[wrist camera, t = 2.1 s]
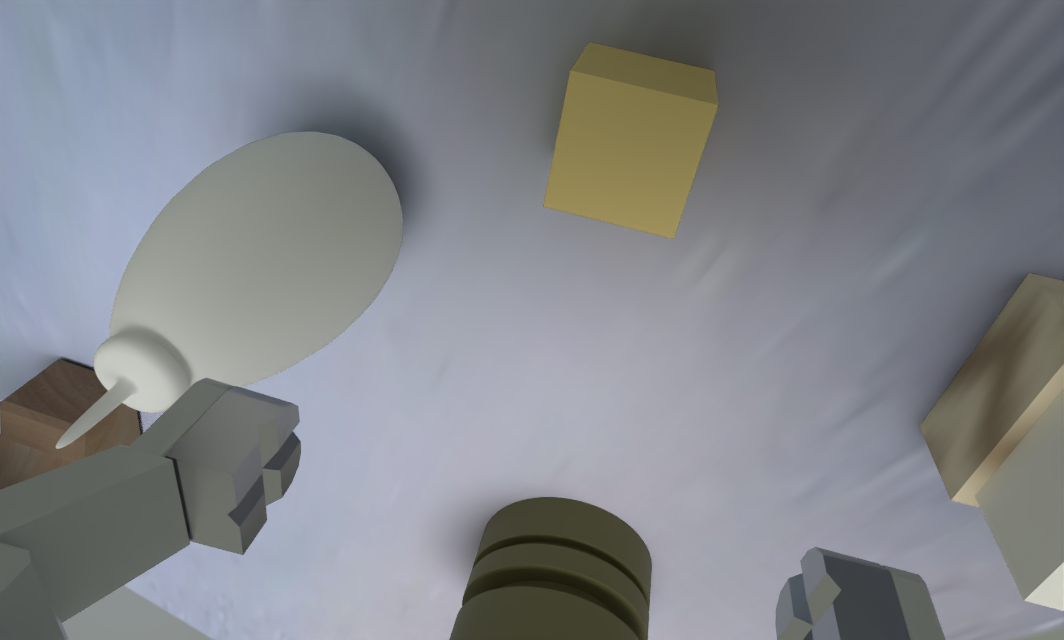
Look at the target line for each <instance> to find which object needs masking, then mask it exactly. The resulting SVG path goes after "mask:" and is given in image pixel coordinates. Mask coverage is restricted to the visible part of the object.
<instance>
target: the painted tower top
mask: <svg viewBox="0 0 1064 640" xmlns="http://www.w3.org/2000/svg"><path fill="white" fill-rule="evenodd" d="M975 498H976V500H977V502H978V504H979V506H980V508H981V511H982V513H983V515H984V517H985V519H986V521H987V523H988V525H989V528H990V530H991V532H992V534H993V536H994V538H995V540H996V542H997V544H998V547H999V549H1000V551H1001V553H1002V555H1003V557H1004V559H1005V561H1006V564H1007V566H1008V568H1009V570H1010V572H1011V574H1012V576H1013V578H1014V580H1015V583H1016V585H1017V587H1018V589H1019V591H1020V593H1021V595H1022V597H1023V600H1024V601H1028V602H1032V603H1035V604H1039V605H1043V606H1047V607H1051V608H1054V609H1058V610H1062V611H1064V389H1063V390H1062V392H1061V393H1060V394H1059V395H1058V396H1057V398H1056V399H1055V400H1054V401H1053V402H1052V404H1051V405H1050V406H1049V407H1048V408H1047V410H1046V411H1045V412H1044V413H1043V415H1042V416H1041V417H1040V418H1039V419H1038V421H1037V422H1036V423H1035V424H1034V425H1033V427H1032V428H1031V429H1030V430H1029V431H1028V433H1027V434H1026V435H1025V436H1024V437H1023V439H1022V440H1021V441H1020V442H1019V444H1018V445H1017V446H1016V447H1015V448H1014V450H1013V451H1012V452H1011V453H1010V454H1009V456H1008V457H1007V458H1006V459H1005V460H1004V462H1003V463H1002V464H1001V465H1000V466H999V468H998V469H997V470H996V471H995V473H994V474H993V475H992V476H991V477H990V479H989V480H988V481H987V482H986V483H985V485H984V486H983V487H982V488H981V489H980V491H979V492H978V493H977V494H976V496H975Z"/></svg>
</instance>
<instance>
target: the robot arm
mask: <svg viewBox="0 0 1064 640" xmlns="http://www.w3.org/2000/svg"><path fill="white" fill-rule="evenodd" d="M299 422H300V420H299V409H298V406H297V405H295V404H293V403H290V402H287V401H284V400H280V399H277V398H274V397H270V396H267V395H264V394H261V393H257V392H254V391H251V390H247V389H244V388H241V387H238V386H233V385H230V384H226V383H223V382H219V381H216V380H213V379H209V378H204V379H201V380H199V381H197V382H195V383H194V384H193V385H192V386H191V387H190V388H189V389H188V390H187V391H186V392H185V393H184V394H183V395H182V396H181V397H180V398H179V399H178V400H177V401H175V402H174V403H173V404H172V405H171V406H170V407H169V408H168V409H167V410H166V411H165V412H164V413H163V414H162V415H161V416H160V417H159V418H158V419H157V420H156V421H155V422H154V423H153V424H152V425H151V426H150V427H149V428H148V429H147V430H146V431H145V432H144V433H143V434H142V435H141V436H140V437H139V438H138V439H137V440H136V441H135V442H134V443H133V444H132V445H131V446H130V447H127V446H123V445H118V446H115V447H112V448H110V449H107V450H104V451H102V452H99V453H96V454H94V455H91V456H88V457H86V458H83V459H80V460H78V461H75V462H73V463H70V464H67V465H65V466H62V467H59V468H57V469H54V470H51V471H49V472H46V473H43V474H41V475H38V476H35V477H33V478H30V479H28V480H25V481H22V482H20V483H17V484H14V485H12V486H9V487H6V488H4V489H1V490H0V640H69V638H68V636H67V634H66V632H65V629H64V627H63V625H62V622H64V621H66V620H67V619H69V618H71V617H72V616H74V615H76V614H77V613H78V612H81V611H82V610H84V609H85V608H87V607H89V606H90V605H92V604H93V603H95V602H97V601H98V600H100V599H102V598H103V597H105V596H107V595H108V594H110V593H111V592H113V591H115V590H116V589H118V588H120V587H121V586H123V585H125V584H126V583H128V582H129V581H131V580H133V579H134V578H136V577H138V576H139V575H141V574H142V573H144V572H146V571H147V570H149V569H151V568H152V567H154V566H155V565H157V564H159V563H160V562H162V561H164V560H165V559H167V558H169V557H170V556H172V555H173V554H175V553H177V552H178V551H180V550H182V549H183V548H185V547H186V546H188V545H189V544H190V541H192V542H196V543H199V544H203V545H207V546H211V547H215V548H218V549H222V550H226V551H230V552H234V553H237V554H241V555H244V553H245V552H246V550H247V549H248V547H249V546H250V544H251V543H252V541H253V540H254V538H255V537H256V535H257V534H258V533H259V531H260V530H261V528H262V527H263V525H264V524H265V522H266V521H267V515H266V506H267V505H269V504H271V503H273V502H275V501H277V500H279V499H281V498H282V497H283V496H284V494H285V492H286V491H287V489H288V488H289V486H290V485H291V483H292V481H293V478H294V476H295V473H296V471H297V468H298V466H299V460H300V455H301V441H300V440H299V439H298V437H297V436H296V435H295V433H294V432H293V430H294V429H295V427H296V426H297V424H298V423H299ZM801 567H802V574H799V575H796V576H794V577H791V578H788V580H787V582H786V583H785V585H784V587H783V588H782V590H781V592H780V595H779V599H778V603H777V607H776V623H775V624H776V634H777V640H946V639H945V636H944V634H943V631H942V628H941V625H940V622H939V619H938V617H937V614H936V611H935V608H934V605H933V603H932V600H931V597H930V594H929V591H928V588H927V586H926V583H925V582H924V580H923V579H922V578H921V577H920V576H919V575H917V574H914V573H910V572H906V571H903V570H899V569H895V568H892V567H888V566H884V565H880V564H878V563H874V562H870V561H867V560H863V559H859V558H855V557H852V556H848V555H844V554H840V553H836V552H833V551H829V550H825V549H821V548H817V547H814V548H812V549H810V550H808V551H807V552H806V554H805V555H804V557H803V558H802V559H801Z"/></svg>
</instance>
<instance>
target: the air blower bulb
mask: <svg viewBox="0 0 1064 640" xmlns="http://www.w3.org/2000/svg"><path fill="white" fill-rule="evenodd" d="M402 237H403V215H402V210H401V205H400V201H399V197H398V194H397V191H396V189H395V187H394V184H393V182H392V180H391V179H390V177H389V175H388V174H387V172H386V170H385V169H384V168H383V167H382V165H381V164H380V163H379V162H378V160H376V159H375V158H374V157H373V156H372V155H371V154H370V153H369V152H368V151H366V150H365V149H363V148H362V147H360V146H359V145H357V144H356V143H354V142H351V141H349V140H347V139H344V138H342V137H340V136H337V135H332V134H327V133H321V132H313V131H308V132H290V133H283V134H279V135H275V136H272V137H268V138H265V139H261V140H258V141H255V142H252V143H250V144H247V145H245V146H243V147H241V148H239V149H237V150H236V151H234V152H232V153H230V154H228V155H226V156H225V157H223V158H221V159H220V160H218V161H216V162H214V163H213V164H212V165H210V166H209V167H207V168H206V169H204V170H203V171H202V172H201V173H200V174H198V175H197V176H196V177H195V178H194V179H193V180H191V181H190V182H189V183H188V184H187V185H186V186H185V187H184V188H183V189H182V190H181V191H180V192H179V193H178V194H177V195H176V196H174V197H173V198H172V199H171V201H170V202H169V203H168V204H167V205H166V206H165V207H164V208H163V210H162V211H161V212H160V214H159V215H158V216H157V218H156V219H155V220H154V221H153V223H152V224H151V226H150V228H149V229H148V231H147V232H146V234H145V235H144V237H143V238H142V240H141V242H140V243H139V245H138V247H137V248H136V250H135V252H134V254H133V255H132V257H131V259H130V261H129V263H128V265H127V267H126V270H125V272H124V274H123V276H122V279H121V282H120V284H119V287H118V290H117V293H116V297H115V301H114V305H113V309H112V313H111V320H110V338H108V339H107V340H106V341H105V342H104V343H102V344H101V345H100V347H99V348H98V350H97V351H96V353H95V356H94V361H93V363H94V370H95V372H96V375H97V377H98V379H99V380H100V382H101V383H102V385H103V386H104V387H105V388H106V389H107V390H108V392H106V393H105V394H104V395H103V396H102V397H101V398H100V399H99V400H98V401H97V402H96V403H94V404H93V405H92V406H91V407H90V408H89V409H88V410H87V411H86V412H85V413H84V414H83V415H82V416H81V417H80V418H79V419H78V420H77V421H76V422H75V423H74V424H73V425H72V426H71V427H70V428H69V429H68V430H67V431H66V432H65V433H64V434H63V436H62V437H61V438H60V440H59V441H58V443H57V444H56V449H60V448H63V447H65V446H67V445H68V444H70V443H72V442H73V441H75V440H76V439H77V438H79V437H80V436H81V435H83V434H84V433H85V432H87V431H88V430H89V429H91V428H92V427H93V426H94V425H96V424H97V423H98V422H99V421H101V420H102V419H103V418H104V417H106V416H107V415H108V414H109V413H110V412H112V411H113V410H114V409H115V408H116V407H117V406H119V405H120V404H121V403H123V404H125V405H127V406H129V407H130V408H133V409H135V410H138V411H142V412H147V413H156V412H162V411H165V410H167V409H168V408H169V407H170V406H171V405H172V404H173V403H174V402H175V401H177V400H178V399H179V398H180V397H181V396H182V395H183V394H184V393H185V392H186V391H187V390H188V389H189V388H190V387H191V386H192V385H193V384H194V383H195V382H197V381H199V380H201V379H204V378H209V379H213V380H216V381H219V382H223V383H226V384H230V385H233V386H238V387H244V386H247V385H250V384H253V383H255V382H258V381H260V380H263V379H266V378H268V377H271V376H273V375H275V374H277V373H279V372H282V371H284V370H286V369H288V368H289V367H291V366H293V365H295V364H297V363H299V362H300V361H302V360H304V359H305V358H307V357H309V356H310V355H312V354H314V353H315V352H317V351H319V350H320V349H322V348H323V347H325V346H326V345H327V344H329V343H330V342H332V341H333V340H334V339H336V338H337V337H338V336H339V335H341V334H342V333H343V332H344V331H345V330H346V329H347V328H348V327H349V326H350V325H352V324H353V323H354V322H355V321H356V320H357V319H358V318H359V317H360V316H361V315H362V314H363V313H364V311H365V310H366V309H367V308H368V307H369V306H370V305H371V304H372V302H373V301H374V300H375V299H376V297H377V296H378V294H379V293H380V291H381V290H382V288H383V286H384V285H385V283H386V281H387V280H388V278H389V276H390V274H391V273H392V271H393V268H394V266H395V264H396V261H397V258H398V254H399V250H400V247H401V243H402Z"/></svg>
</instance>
